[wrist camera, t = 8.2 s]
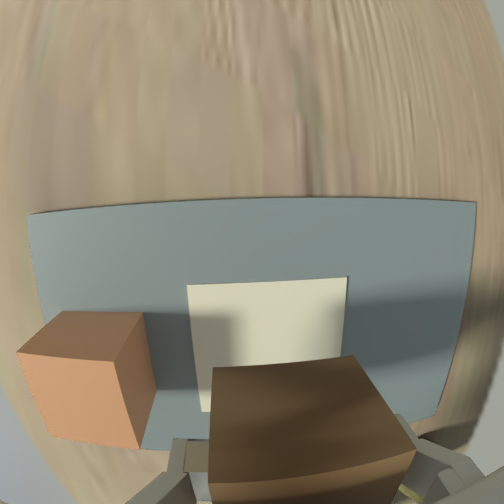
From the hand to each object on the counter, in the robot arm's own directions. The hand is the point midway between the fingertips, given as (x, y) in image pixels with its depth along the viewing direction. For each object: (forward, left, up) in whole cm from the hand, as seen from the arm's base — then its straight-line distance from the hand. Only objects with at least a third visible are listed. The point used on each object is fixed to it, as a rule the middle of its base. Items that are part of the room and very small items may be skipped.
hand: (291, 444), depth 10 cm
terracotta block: (+7, +6, -7) cm, 11 cm away
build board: (0, 0, -8) cm, 8 cm away
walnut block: (0, 0, -2) cm, 2 cm away
